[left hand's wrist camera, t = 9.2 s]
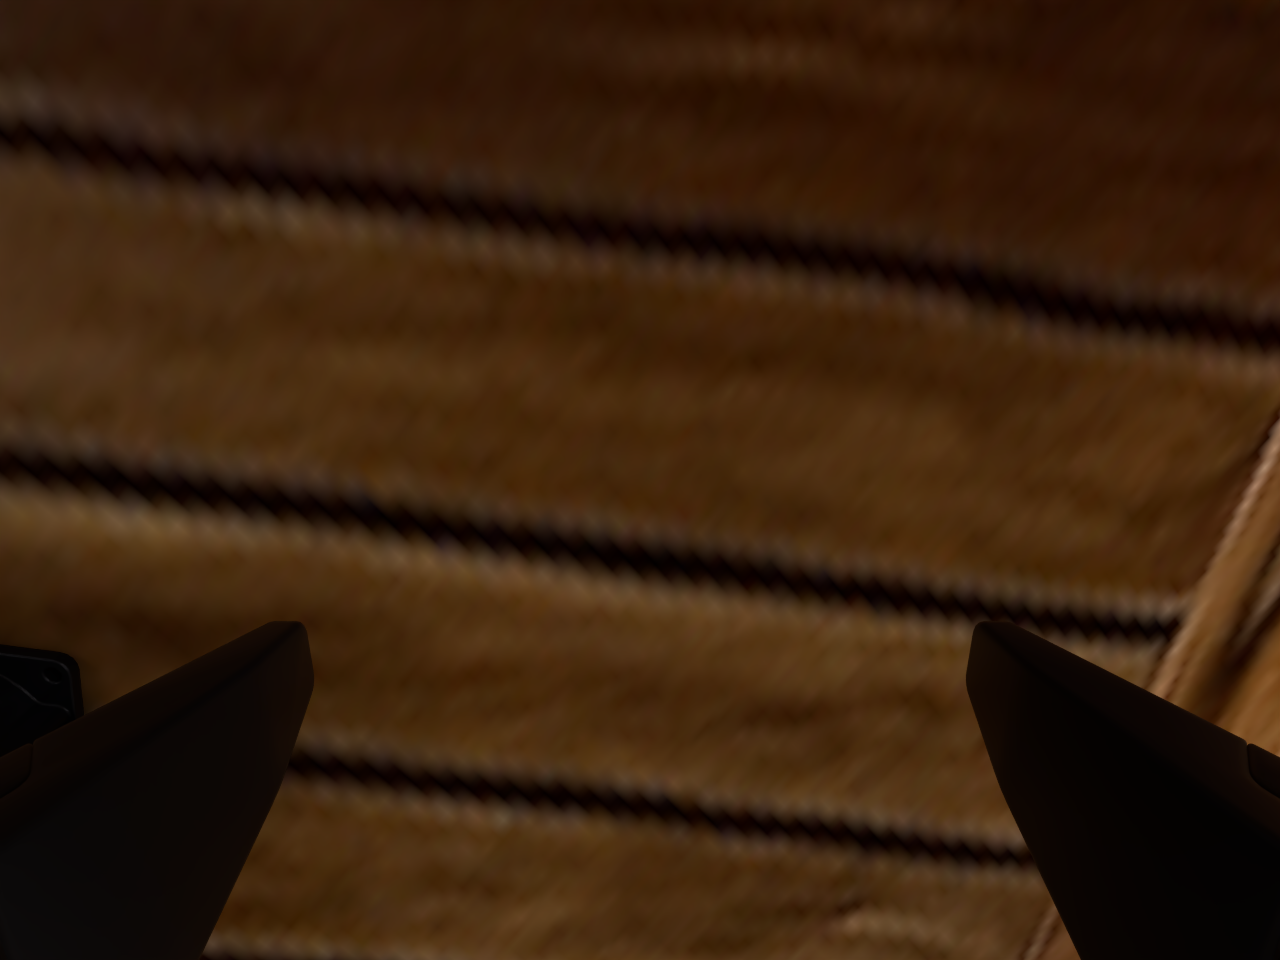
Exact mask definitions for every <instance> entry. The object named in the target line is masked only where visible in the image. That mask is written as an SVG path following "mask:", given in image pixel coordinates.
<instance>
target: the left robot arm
mask: <svg viewBox="0 0 1280 960" xmlns="http://www.w3.org/2000/svg"><path fill="white" fill-rule="evenodd" d="M53 668H55V669H57V670H58V671H59V672H60V673H61V674H59V673H57V672H56V671H55V670H54V669H53ZM313 686H314V672H313V666H312V660H311V654H310V648H309V642H308V636H307V631H306V629H305V627H304V625H303V624H302V623H301V622H297V621H274V622H269V623H267V624H265V625H263V626H261V627H259V628H257V629H255V630H253V631H251V632H249V633H247V634H245V635H243V636H241V637H239V638H237V639H235V640H233V641H231V642H229V643H227V644H225V645H223V646H221V647H219V648H217V649H215V650H213V651H211V652H209V653H207V654H205V655H203V656H201V657H199V658H197V659H195V660H193V661H191V662H189V663H187V664H185V665H183V666H181V667H179V668H177V669H176V670H174V671H172V672H170V673H168V674H166V675H164V676H162V677H160V678H158V679H156V680H154V681H152V682H150V683H148V684H146V685H144V686H142V687H140V688H138V689H136V690H134V691H132V692H130V693H128V694H126V695H124V696H122V697H120V698H118V699H116V700H114V701H112V702H110V703H108V704H106V705H104V706H102V707H100V708H98V709H96V710H94V711H92V712H90V713H88V714H86V715H84V710H83V700H82V690H81V680H80V671H79V667H78V664H77V662H76V661H75V660H74V659H73V658H72V657H70V656H69V655H67V654H64V653H61V652H55V651H47V650H39V649H31V648H24V647H16V646H8V645H1V644H0V960H199V959H200V957H201V954H202V952H203V950H204V948H205V946H206V944H207V942H208V940H209V937H210V935H211V933H212V931H213V929H214V927H215V925H216V923H217V921H218V918H219V916H220V914H221V912H222V910H223V908H224V906H225V904H226V902H227V899H228V897H229V895H230V893H231V891H232V889H233V887H234V885H235V882H236V880H237V878H238V876H239V874H240V872H241V870H242V868H243V866H244V863H245V861H246V859H247V857H248V855H249V853H250V851H251V849H252V847H253V844H254V842H255V840H256V838H257V836H258V834H259V832H260V830H261V827H262V825H263V823H264V821H265V819H266V817H267V815H268V813H269V811H270V808H271V806H272V804H273V802H274V800H275V797H276V795H277V793H278V791H279V788H280V786H281V783H282V780H283V777H284V775H285V772H286V769H287V766H288V763H289V760H290V757H291V754H292V751H293V748H294V745H295V742H296V739H297V736H298V733H299V730H300V727H301V724H302V721H303V718H304V715H305V712H306V709H307V706H308V703H309V700H310V697H311V694H312V691H313ZM966 686H967V691H968V694H969V697H970V700H971V703H972V706H973V709H974V712H975V715H976V718H977V721H978V724H979V727H980V730H981V733H982V736H983V739H984V742H985V745H986V748H987V751H988V754H989V757H990V760H991V763H992V766H993V769H994V772H995V775H996V777H997V780H998V783H999V786H1000V788H1001V791H1002V793H1003V795H1004V797H1005V800H1006V802H1007V804H1008V806H1009V808H1010V811H1011V813H1012V815H1013V817H1014V819H1015V821H1016V823H1017V825H1018V827H1019V830H1020V832H1021V834H1022V836H1023V838H1024V840H1025V842H1026V844H1027V847H1028V849H1029V851H1030V853H1031V855H1032V857H1033V859H1034V861H1035V863H1036V866H1037V868H1038V870H1039V872H1040V874H1041V876H1042V878H1043V880H1044V882H1045V885H1046V887H1047V889H1048V891H1049V893H1050V895H1051V897H1052V899H1053V902H1054V904H1055V906H1056V908H1057V910H1058V912H1059V914H1060V916H1061V918H1062V921H1063V923H1064V925H1065V927H1066V929H1067V931H1068V933H1069V935H1070V938H1071V940H1072V942H1073V944H1074V946H1075V948H1076V950H1077V952H1078V954H1079V957H1080V959H1081V960H1280V757H1278V756H1276V755H1274V754H1272V753H1270V752H1268V751H1266V750H1264V749H1262V748H1260V747H1258V746H1256V745H1254V744H1248V745H1247V743H1246V741H1245V740H1244V739H1242V738H1240V737H1238V736H1236V735H1234V734H1232V733H1230V732H1228V731H1226V730H1224V729H1222V728H1220V727H1218V726H1216V725H1214V724H1212V723H1210V722H1208V721H1206V720H1204V719H1202V718H1200V717H1198V716H1196V715H1194V714H1192V713H1190V712H1188V711H1186V710H1184V709H1182V708H1180V707H1178V706H1176V705H1174V704H1172V703H1170V702H1168V701H1166V700H1164V699H1162V698H1160V697H1158V696H1156V695H1154V694H1152V693H1150V692H1148V691H1146V690H1144V689H1142V688H1140V687H1138V686H1136V685H1134V684H1132V683H1130V682H1128V681H1126V680H1124V679H1122V678H1120V677H1118V676H1116V675H1114V674H1112V673H1110V672H1108V671H1106V670H1104V669H1103V668H1101V667H1099V666H1097V665H1095V664H1093V663H1091V662H1089V661H1087V660H1085V659H1083V658H1081V657H1079V656H1077V655H1075V654H1073V653H1071V652H1069V651H1067V650H1065V649H1063V648H1061V647H1059V646H1057V645H1055V644H1053V643H1051V642H1049V641H1047V640H1045V639H1043V638H1041V637H1039V636H1037V635H1035V634H1033V633H1031V632H1029V631H1027V630H1025V629H1023V628H1021V627H1019V626H1017V625H1015V624H1013V623H1011V622H1006V621H983V622H979V623H978V624H977V625H976V627H975V629H974V631H973V636H972V642H971V648H970V654H969V660H968V666H967V672H966Z"/></svg>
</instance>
